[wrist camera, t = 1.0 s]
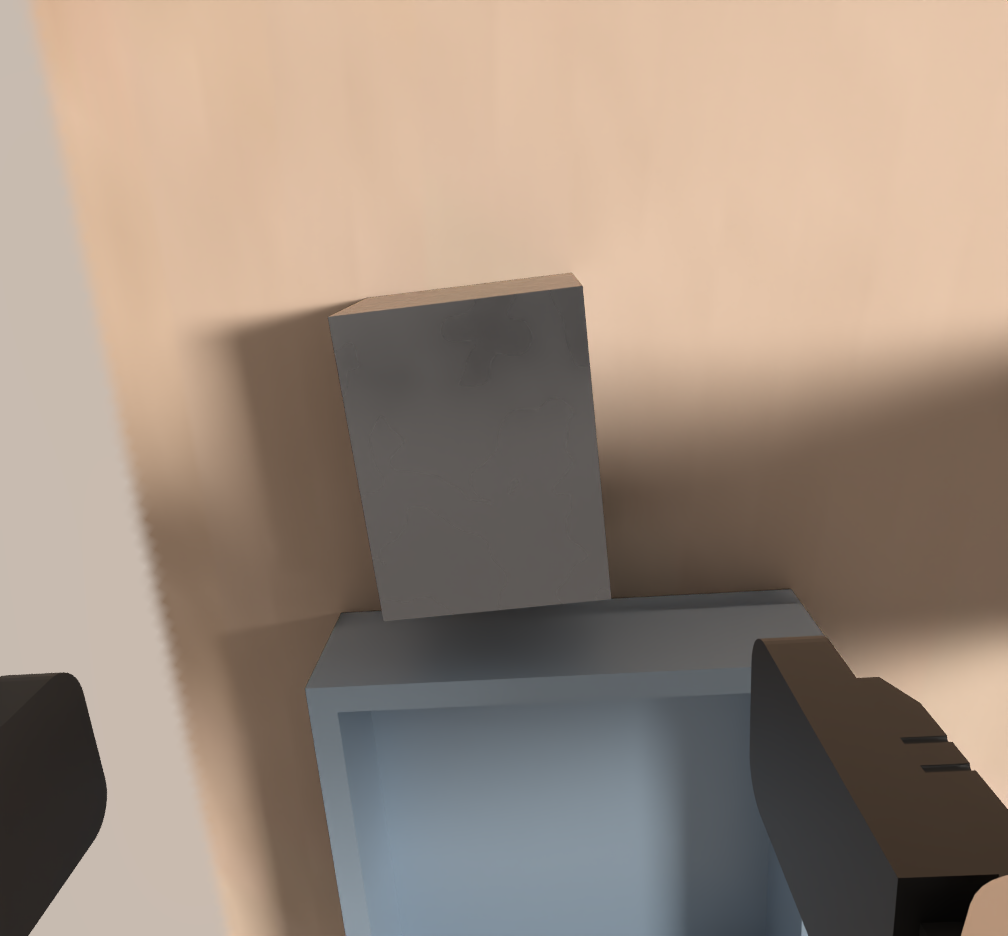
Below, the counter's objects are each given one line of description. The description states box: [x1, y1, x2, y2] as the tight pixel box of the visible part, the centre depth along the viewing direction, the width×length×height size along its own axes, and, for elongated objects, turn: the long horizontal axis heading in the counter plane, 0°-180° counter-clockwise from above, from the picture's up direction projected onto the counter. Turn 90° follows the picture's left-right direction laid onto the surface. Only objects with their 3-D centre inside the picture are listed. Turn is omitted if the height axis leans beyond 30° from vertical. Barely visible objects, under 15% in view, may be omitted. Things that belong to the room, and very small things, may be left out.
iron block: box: [328, 273, 611, 621], centre depth 22 cm, size 6×8×5 cm
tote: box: [305, 589, 824, 936], centre depth 26 cm, size 15×15×4 cm
